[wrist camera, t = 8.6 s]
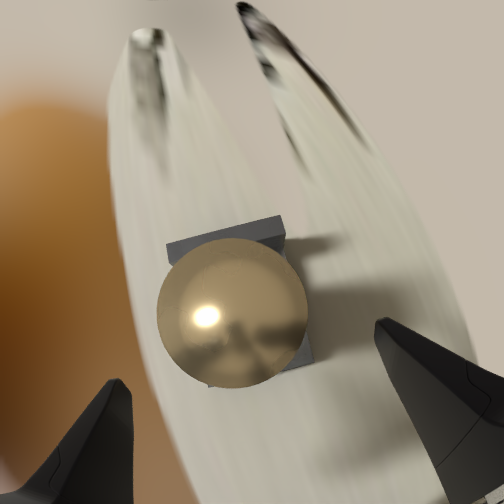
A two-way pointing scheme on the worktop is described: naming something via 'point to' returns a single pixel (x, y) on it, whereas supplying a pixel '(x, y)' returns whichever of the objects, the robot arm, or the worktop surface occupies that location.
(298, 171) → the worktop surface
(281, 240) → the press bed
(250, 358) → the ball
